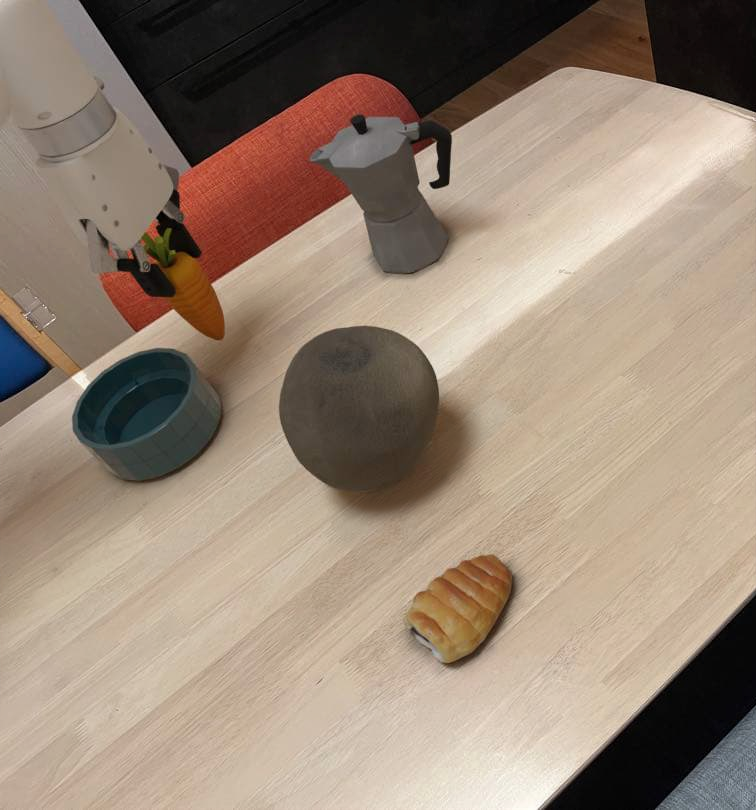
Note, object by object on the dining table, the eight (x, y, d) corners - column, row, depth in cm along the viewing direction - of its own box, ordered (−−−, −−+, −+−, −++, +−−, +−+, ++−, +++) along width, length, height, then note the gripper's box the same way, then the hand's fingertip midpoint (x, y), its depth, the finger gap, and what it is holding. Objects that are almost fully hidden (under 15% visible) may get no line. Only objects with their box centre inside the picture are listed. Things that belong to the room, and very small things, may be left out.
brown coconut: (429, 530, 81) (370, 429, 70) (296, 509, 86) (221, 410, 75) (480, 408, 89) (435, 299, 78) (355, 394, 94) (296, 290, 83)
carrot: (197, 335, 101) (122, 231, 90) (238, 316, 102) (169, 211, 91) (203, 362, 98) (126, 259, 87) (246, 343, 99) (175, 237, 88)
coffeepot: (356, 287, 105) (291, 157, 92) (360, 235, 111) (300, 106, 98) (485, 258, 103) (438, 122, 90) (482, 207, 110) (438, 73, 96)
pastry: (478, 549, 79) (466, 526, 76) (534, 590, 75) (524, 567, 73) (401, 631, 76) (386, 610, 73) (457, 678, 72) (443, 658, 69)
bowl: (82, 478, 95) (47, 444, 90) (144, 381, 103) (114, 345, 98) (187, 488, 91) (156, 453, 86) (243, 387, 99) (217, 350, 94)
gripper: (86, 69, 85) (184, 220, 99) (-21, 185, 75) (104, 335, 89) (152, 64, 83) (243, 219, 97) (50, 183, 73) (167, 337, 87)
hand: (175, 273), depth 93 cm, fingers closed on carrot, 4 cm apart
